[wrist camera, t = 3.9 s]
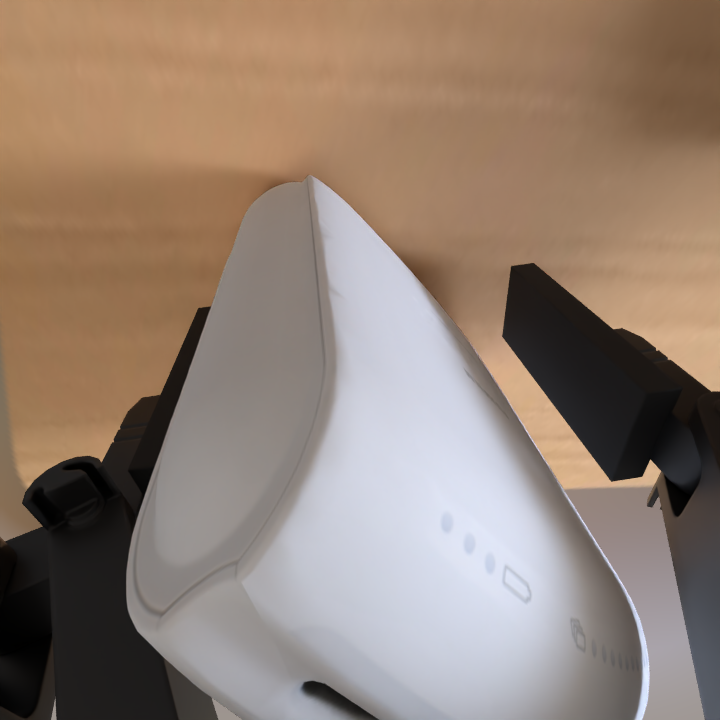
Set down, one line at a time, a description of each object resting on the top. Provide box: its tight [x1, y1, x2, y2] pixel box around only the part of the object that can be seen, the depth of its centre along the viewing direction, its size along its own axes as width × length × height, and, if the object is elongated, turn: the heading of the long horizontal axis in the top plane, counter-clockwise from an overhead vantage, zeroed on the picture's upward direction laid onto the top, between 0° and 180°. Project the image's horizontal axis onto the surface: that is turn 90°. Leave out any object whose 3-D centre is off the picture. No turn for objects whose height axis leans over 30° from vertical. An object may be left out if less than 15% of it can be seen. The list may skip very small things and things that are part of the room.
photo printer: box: [126, 175, 650, 720], centre depth 10 cm, size 10×4×12 cm, turn 41°
